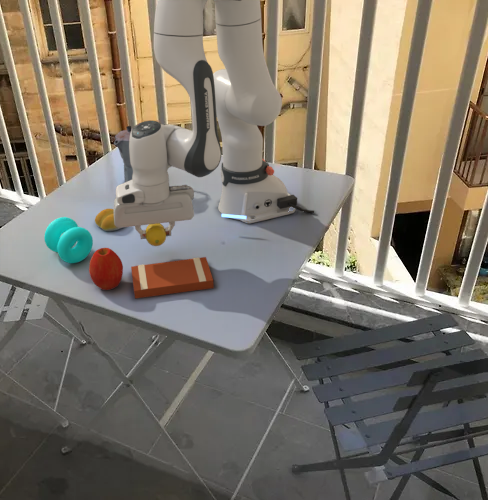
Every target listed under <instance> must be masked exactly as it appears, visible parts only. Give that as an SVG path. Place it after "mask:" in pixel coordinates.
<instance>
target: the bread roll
mask: <svg viewBox="0 0 488 500" xmlns="http://www.w3.org/2000/svg"><path fill="white" fill-rule="evenodd" d="M94 222H95V224H96V226H97V227H98V228H100V229H101V230H103V231H105V232H113V231H117V230H120V229H121V228H118V227H116V226H115V224H114V208H105V209H102V210H101V211H99V212H98V213H97V214H96V215H95V218H94Z"/></svg>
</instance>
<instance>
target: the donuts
mask: <svg viewBox="0 0 488 500" xmlns="http://www.w3.org/2000/svg"><path fill="white" fill-rule="evenodd" d="M43 238H44V243H45V245H46V247H47V249H49V250H50V251H52V252H54V253H57V254H58V256H59V258H60V259H61V260H62V261H63V262H65V263H67V264H77V263H79V262H82V261H84V260H85V259H86V258H87V257H88V256H89V255H90V253H91V251H92V250H93V244H94V239H93V236H92V234H91V232H90V231H89V230H88V229H87V228H85V227H82V226H79V225H78V223H77V222H76V221H75V220H74V219H72V218H71V217H68V216H61V217H58V218H55V219H53V220H52V221H51V222H50V223H49V224H48V225H47V227H46V229H45V231H44V237H43Z"/></svg>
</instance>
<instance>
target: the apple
mask: <svg viewBox="0 0 488 500" xmlns="http://www.w3.org/2000/svg"><path fill="white" fill-rule="evenodd" d="M88 272H89V277H90V279H91V281H92V282H93V284H94V285H95V286H96V287H97V288H99V289H100V290H103V291H110V290H114V289H115V288H117V287H118V286H119V285H120V284H121V281H122V278H123V275H124V265H123V262H122V260H121V258H120V257H119V255H118V253H117V252H115V251H114V250H113V249H112V248H109V247H100V248H97V249H96V250H95V251H94V252H93V254H92V256H91V258H90V260H89V266H88Z"/></svg>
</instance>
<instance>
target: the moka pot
mask: <svg viewBox="0 0 488 500" xmlns="http://www.w3.org/2000/svg"><path fill="white" fill-rule="evenodd" d="M131 130H132V126H131V125H127V126H126V129H124V130H121V131H119V132H118V133H117V134H115V136H114V138H115V140H114V142H113V144H114V145H115V146H116V148H118V151H119V155H120V157H121V159H122V163H123V174H124V175H123V176H124V183H125V182H128V181H130V180H132V175H133V168H132V166H131V163H130V154H129V139H130V133H131Z"/></svg>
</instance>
